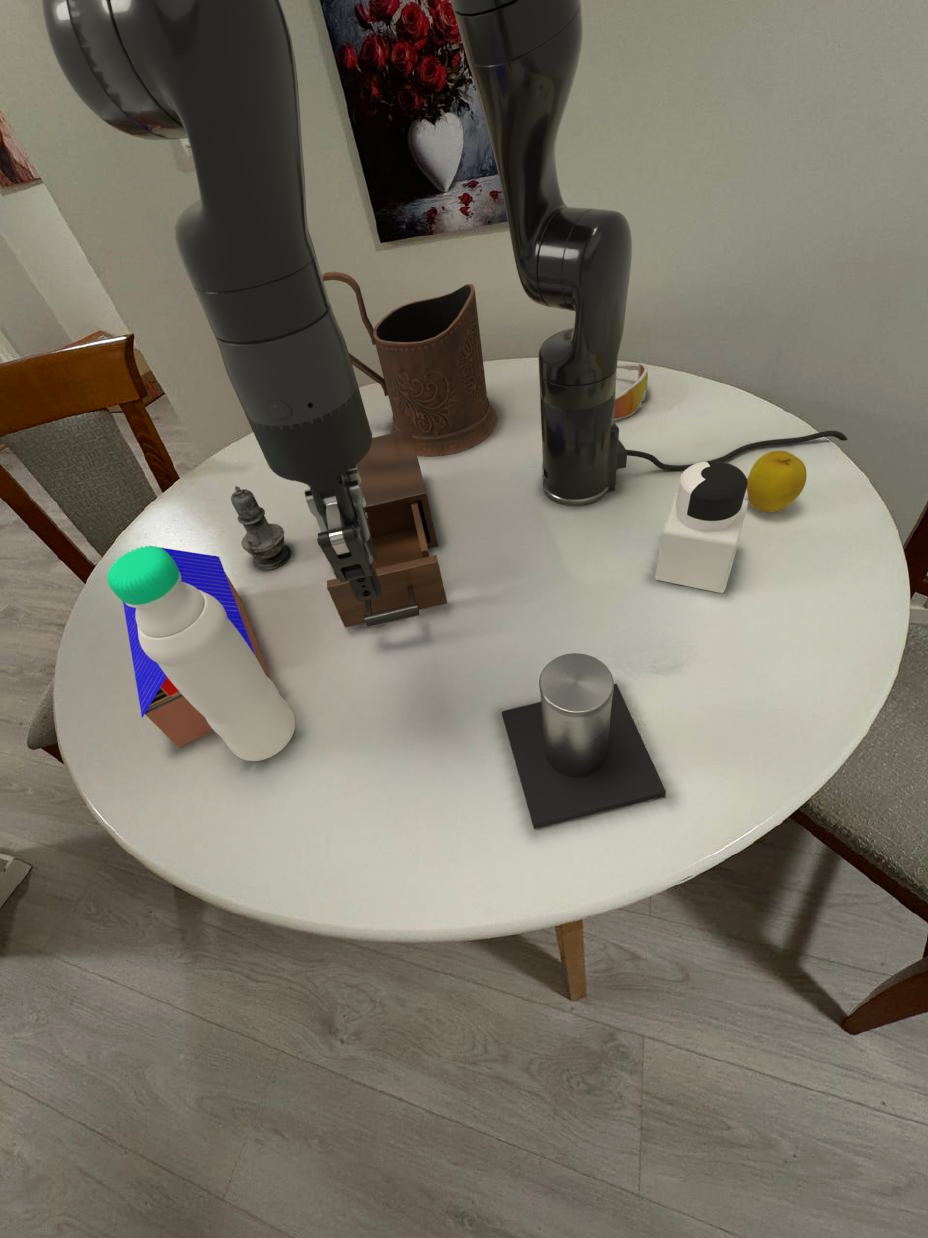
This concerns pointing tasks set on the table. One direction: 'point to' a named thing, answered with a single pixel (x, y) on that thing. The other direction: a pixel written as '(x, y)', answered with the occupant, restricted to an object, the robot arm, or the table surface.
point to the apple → (775, 481)
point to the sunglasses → (631, 392)
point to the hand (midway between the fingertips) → (367, 577)
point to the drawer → (394, 571)
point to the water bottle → (202, 654)
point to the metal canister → (576, 713)
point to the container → (703, 527)
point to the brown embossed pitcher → (431, 369)
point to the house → (151, 680)
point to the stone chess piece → (259, 532)
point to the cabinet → (395, 478)
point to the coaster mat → (570, 798)
